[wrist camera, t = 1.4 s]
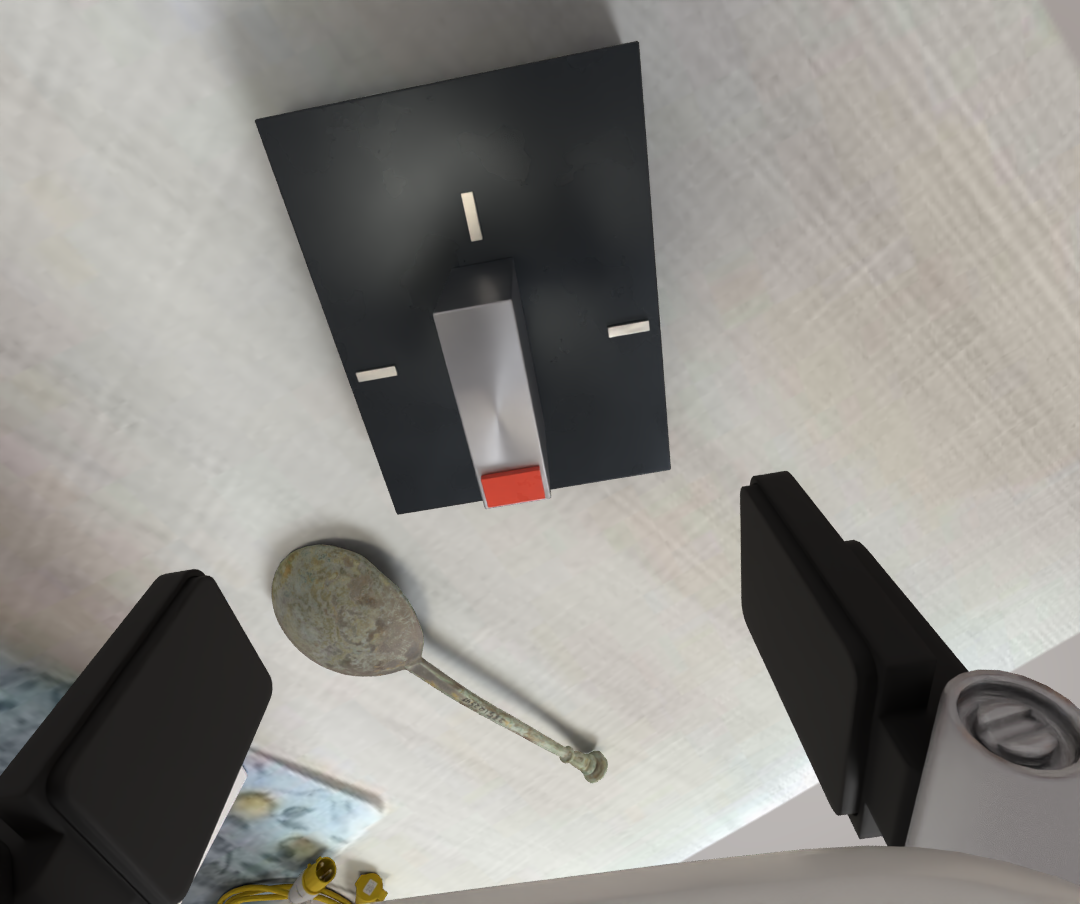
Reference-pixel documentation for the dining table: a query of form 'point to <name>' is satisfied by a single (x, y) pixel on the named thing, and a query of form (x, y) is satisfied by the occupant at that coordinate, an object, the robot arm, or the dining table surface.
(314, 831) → the dining table surface
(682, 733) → the dining table surface
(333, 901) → the extension cord
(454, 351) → the tap handle
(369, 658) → the soupspoon
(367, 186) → the plate
